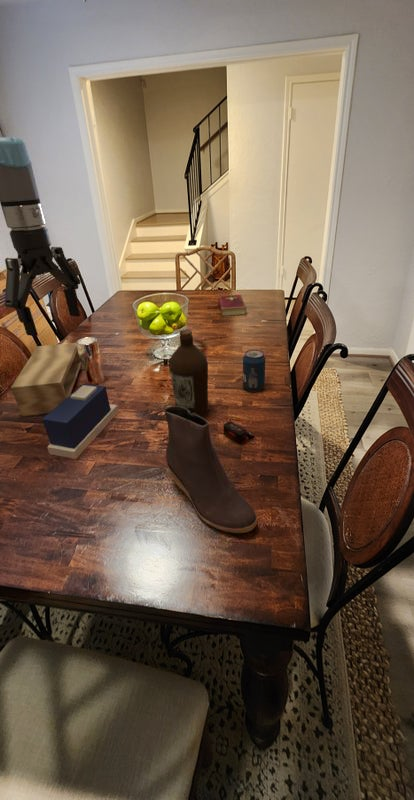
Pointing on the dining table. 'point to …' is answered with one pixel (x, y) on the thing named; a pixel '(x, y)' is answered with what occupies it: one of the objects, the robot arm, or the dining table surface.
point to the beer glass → (91, 359)
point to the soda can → (253, 370)
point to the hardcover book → (232, 305)
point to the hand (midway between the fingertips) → (55, 325)
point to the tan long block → (47, 378)
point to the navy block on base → (78, 420)
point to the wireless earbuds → (236, 432)
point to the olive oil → (189, 376)
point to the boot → (204, 473)
